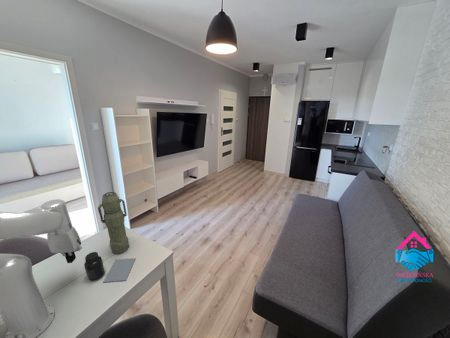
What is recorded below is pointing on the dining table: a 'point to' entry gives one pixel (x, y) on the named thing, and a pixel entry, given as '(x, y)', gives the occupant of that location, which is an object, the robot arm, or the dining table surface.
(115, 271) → the mat
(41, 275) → the dining table surface
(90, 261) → the supplement bottle
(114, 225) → the thermos
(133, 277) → the dining table surface
